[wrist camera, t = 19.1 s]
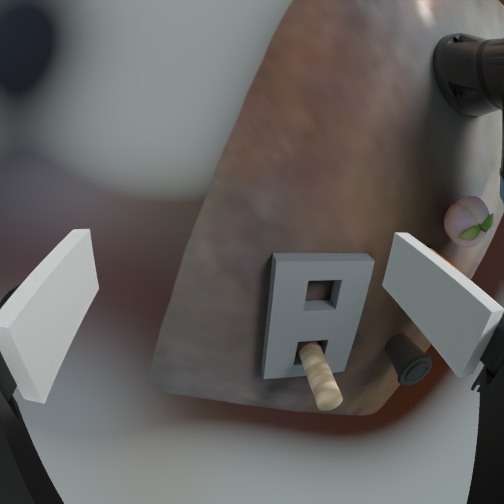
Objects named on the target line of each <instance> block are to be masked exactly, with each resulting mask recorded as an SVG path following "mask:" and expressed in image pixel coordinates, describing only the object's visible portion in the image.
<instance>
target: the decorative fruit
mask: <svg viewBox="0 0 504 504" xmlns="http://www.w3.org/2000/svg"><path fill="white" fill-rule="evenodd" d="M492 223H493V214H491V215H489V211H488V208H487V206H486V205H485V203H484V202H483V201H482V200H481V199H480V198H478V197H475V196H468V197H464V198H461V199H459V200H457V201H456V202H455V203H454V204H453V205H451V206H450V207H449V208H448V210H447V211H446V214H445V217H444V228H445V231H446V233H447V234H448V236H449V237H450V238H451V240H452V241H453V242H454V243H456V244H457V245H458V246H461V247H464V248H468V247H473V246H475V245H477V244H478V243H480V242H481V241H482V240H483V239H484V237H485V236H486V234H487V232H488V229H489V228H490V227H491V226H492Z"/></svg>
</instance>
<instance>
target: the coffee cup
mask: <svg viewBox="0 0 504 504" xmlns="http://www.w3.org/2000/svg"><path fill="white" fill-rule="evenodd" d="M386 351H387V353H388V355H389V357H390V359H391V362H392V364H393V366H394V368H395V370H396V373H397V375H398V382H399V383H400V384H402V385H412V384H414V383H416V382H418V381H419V380H421V379H422V378H423V377H424V376H425V375H426V374H427V373H428V372H429V370H430V369H431V366H432V357H431V356H429V355H426V354H425V353H424V352H423V351H422V350H421V349H420V348H418V347H417V346H416V345H415V344H414V343H413V342H412V341H411V340H410V339H409V338H408V337H407V336H406V335H405V334H403V333H401V334H397V335H395V336H393V337H392V338H391V339H390V340H389V341H388V342H387V345H386Z"/></svg>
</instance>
